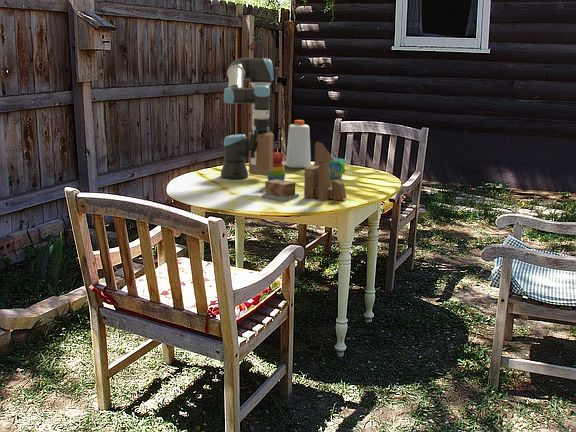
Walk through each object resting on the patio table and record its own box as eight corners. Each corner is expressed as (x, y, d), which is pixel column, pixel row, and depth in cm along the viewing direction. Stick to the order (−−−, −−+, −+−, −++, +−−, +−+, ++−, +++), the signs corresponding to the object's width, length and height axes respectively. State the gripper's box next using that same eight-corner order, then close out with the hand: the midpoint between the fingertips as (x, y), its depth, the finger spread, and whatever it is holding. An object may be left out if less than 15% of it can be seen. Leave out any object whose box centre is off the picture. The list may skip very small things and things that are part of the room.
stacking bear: (289, 185, 353) (290, 151, 349) (282, 188, 344) (283, 154, 339) (270, 183, 356) (270, 150, 352) (263, 186, 347) (263, 152, 343)
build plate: (261, 197, 321) (261, 194, 321) (276, 193, 332) (276, 190, 331) (284, 201, 314) (284, 198, 314) (298, 196, 325) (298, 193, 325)
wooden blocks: (339, 204, 311) (341, 144, 305) (299, 199, 319) (301, 141, 312) (355, 194, 333) (358, 138, 326) (317, 190, 341) (319, 135, 334)
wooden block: (268, 176, 324) (268, 135, 319) (248, 174, 326) (248, 133, 321) (273, 172, 333) (274, 132, 328) (253, 170, 335) (254, 131, 330)
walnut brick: (265, 193, 323) (265, 181, 322) (276, 191, 329) (276, 179, 328) (284, 197, 316) (284, 184, 315) (295, 194, 322) (295, 182, 321)
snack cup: (350, 179, 373) (350, 161, 371) (333, 180, 369) (333, 162, 367) (337, 174, 387) (338, 156, 385) (320, 175, 383) (321, 157, 381)
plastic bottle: (311, 168, 404) (312, 121, 398) (286, 167, 404) (287, 121, 397) (309, 164, 419) (311, 119, 412) (285, 163, 419) (286, 118, 412)
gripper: (253, 121, 311) (252, 167, 317) (281, 116, 330) (280, 160, 336) (240, 119, 315) (240, 165, 320) (269, 115, 334) (268, 158, 340)
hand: (261, 162), depth 328 cm, fingers closed on wooden block, 12 cm apart
